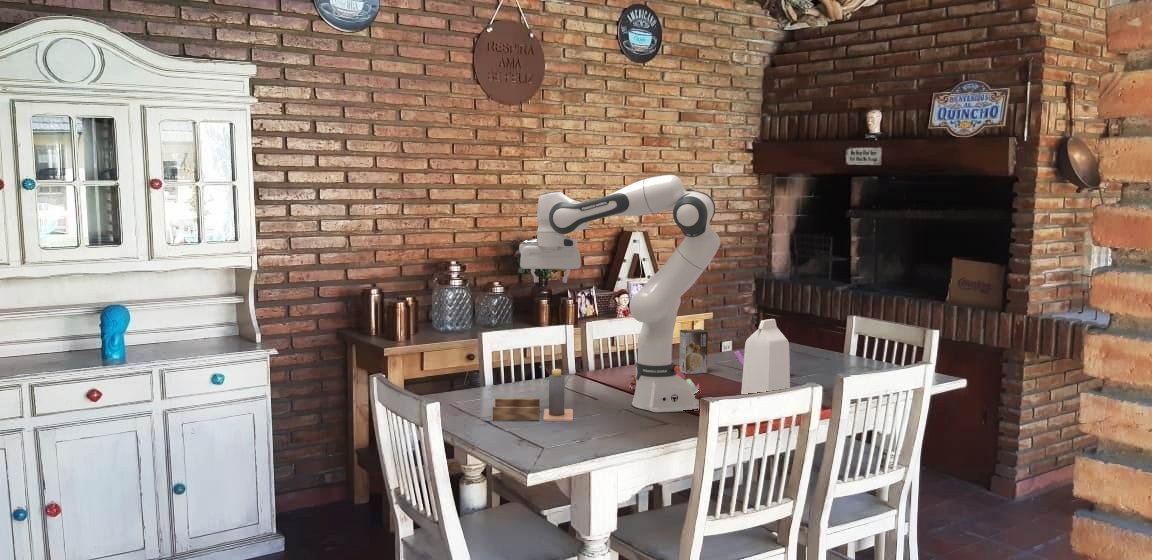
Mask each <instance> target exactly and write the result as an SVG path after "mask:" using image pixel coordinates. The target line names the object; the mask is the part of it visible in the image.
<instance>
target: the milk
mask: <svg viewBox="0 0 1152 560" xmlns="http://www.w3.org/2000/svg"><path fill="white" fill-rule="evenodd" d="M776 321H777V320H776V319H775V318H770V319H769V318H768V319H763V320H760V322H759V325H758V329H756V330H755V331H754V332H753V333H752V334H751V335H749V337H748V338H746V341H745V343H744V353H743V354H744V355H743V357H744V365H743V366H742V380H741V391H740V392H741V393H740V394H741V395H743V394H748V393H757V392H766V391H772V390H779V389H785V388H790V389H791V376H790V374H791V373H790V372H791V371H790V369H791V368H790V366H791V362H790V363H789V355H790V343H789V340H788V339H787V338H786V336H785V335H784V334H783V332H781V330H780V329H779V327H778V326H777V322H776Z"/></svg>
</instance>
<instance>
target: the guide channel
mask: <svg viewBox="0 0 1152 560" xmlns="http://www.w3.org/2000/svg"><path fill="white" fill-rule="evenodd" d="M540 401H541V400H540V398H495V399H494V406H492V421H503V422H504V421H508V420H509V421H517V422H518V421H523V422H524V421H525V422H526V421H530V422H531V421H534V422H535V421H537V422H538V421H540V420H539V419H540V412H541V411H540V407H541V406H540V405H541V403H540Z"/></svg>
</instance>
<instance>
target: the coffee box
mask: <svg viewBox="0 0 1152 560" xmlns="http://www.w3.org/2000/svg"><path fill="white" fill-rule="evenodd" d="M708 333H709V332H708V331H707V330H704V329H702V328H697V329H696V328H695V329H693V328H692V329H679V367H680V372H681V373H683V374H684V373H685V374H684V375H691V374H692V375H693V374H707V373H708V346H709V345H708V344H709V343H708V338H709V337H708V335H709V334H708Z"/></svg>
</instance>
